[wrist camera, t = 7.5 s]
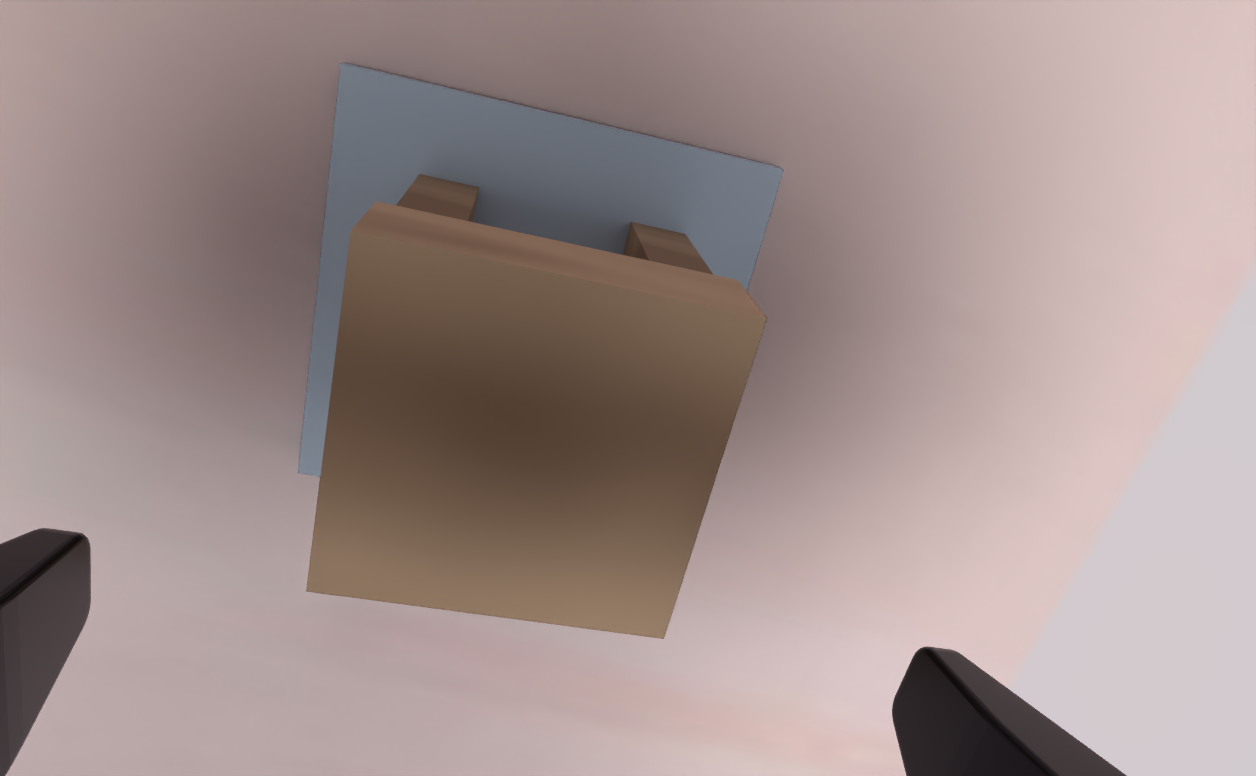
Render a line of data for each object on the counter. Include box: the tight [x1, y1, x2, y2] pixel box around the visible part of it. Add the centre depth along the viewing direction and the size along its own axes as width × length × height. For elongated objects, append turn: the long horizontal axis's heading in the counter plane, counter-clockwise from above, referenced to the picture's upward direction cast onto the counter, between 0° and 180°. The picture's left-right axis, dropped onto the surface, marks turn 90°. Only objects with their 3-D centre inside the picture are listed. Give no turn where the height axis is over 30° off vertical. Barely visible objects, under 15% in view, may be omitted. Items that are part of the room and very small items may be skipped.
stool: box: [306, 174, 767, 639], centre depth 16 cm, size 6×6×6 cm
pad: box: [298, 63, 783, 477], centre depth 19 cm, size 9×9×1 cm
